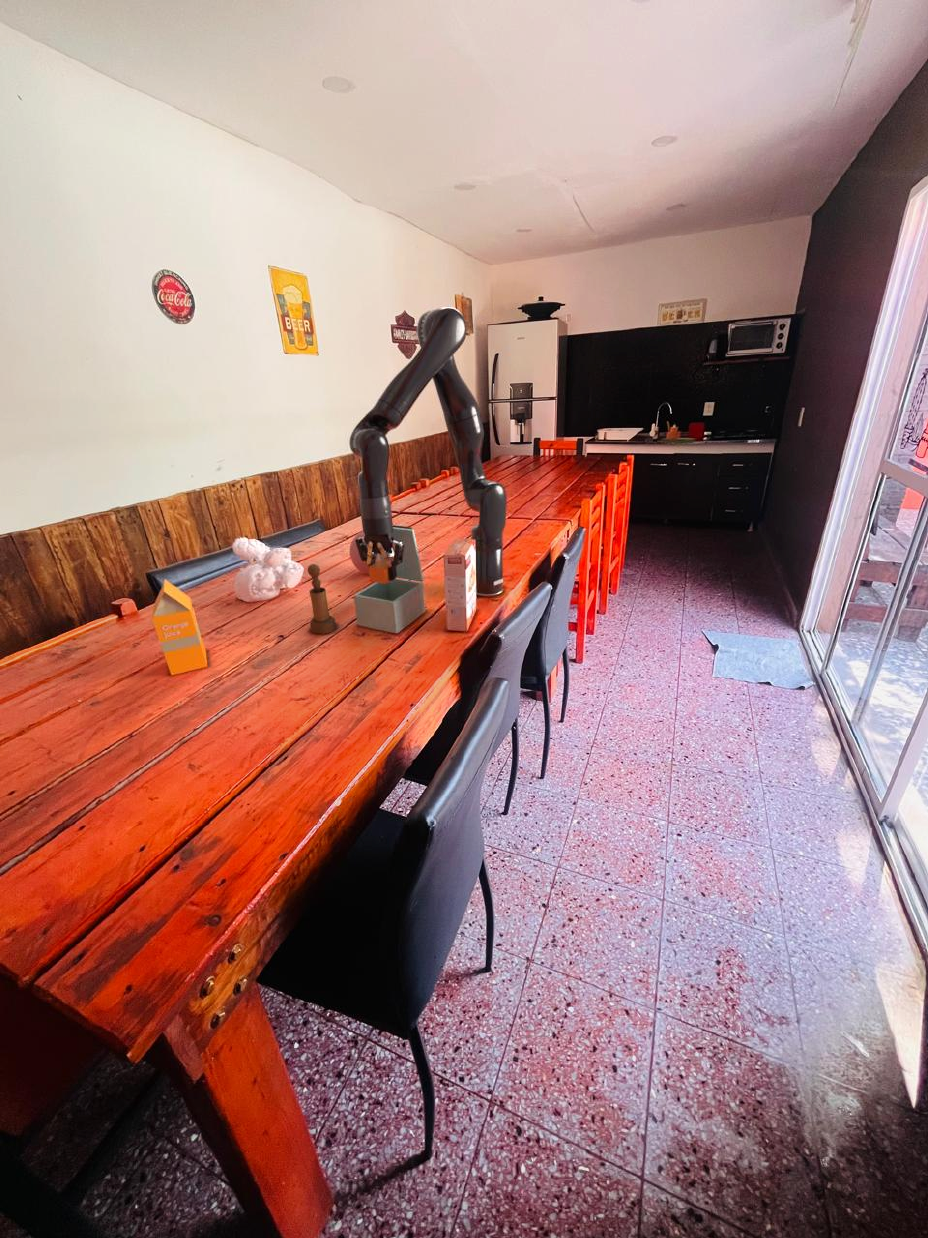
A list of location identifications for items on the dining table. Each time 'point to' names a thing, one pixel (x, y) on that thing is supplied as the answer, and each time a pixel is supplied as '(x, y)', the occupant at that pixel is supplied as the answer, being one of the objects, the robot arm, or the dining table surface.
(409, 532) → the box lid
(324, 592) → the mortar and pestle
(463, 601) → the cracker box
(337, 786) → the dining table surface
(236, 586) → the white lumpy blob
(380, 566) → the orange block
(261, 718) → the dining table surface
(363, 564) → the balloon
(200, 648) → the orange juice
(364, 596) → the grey storage box
